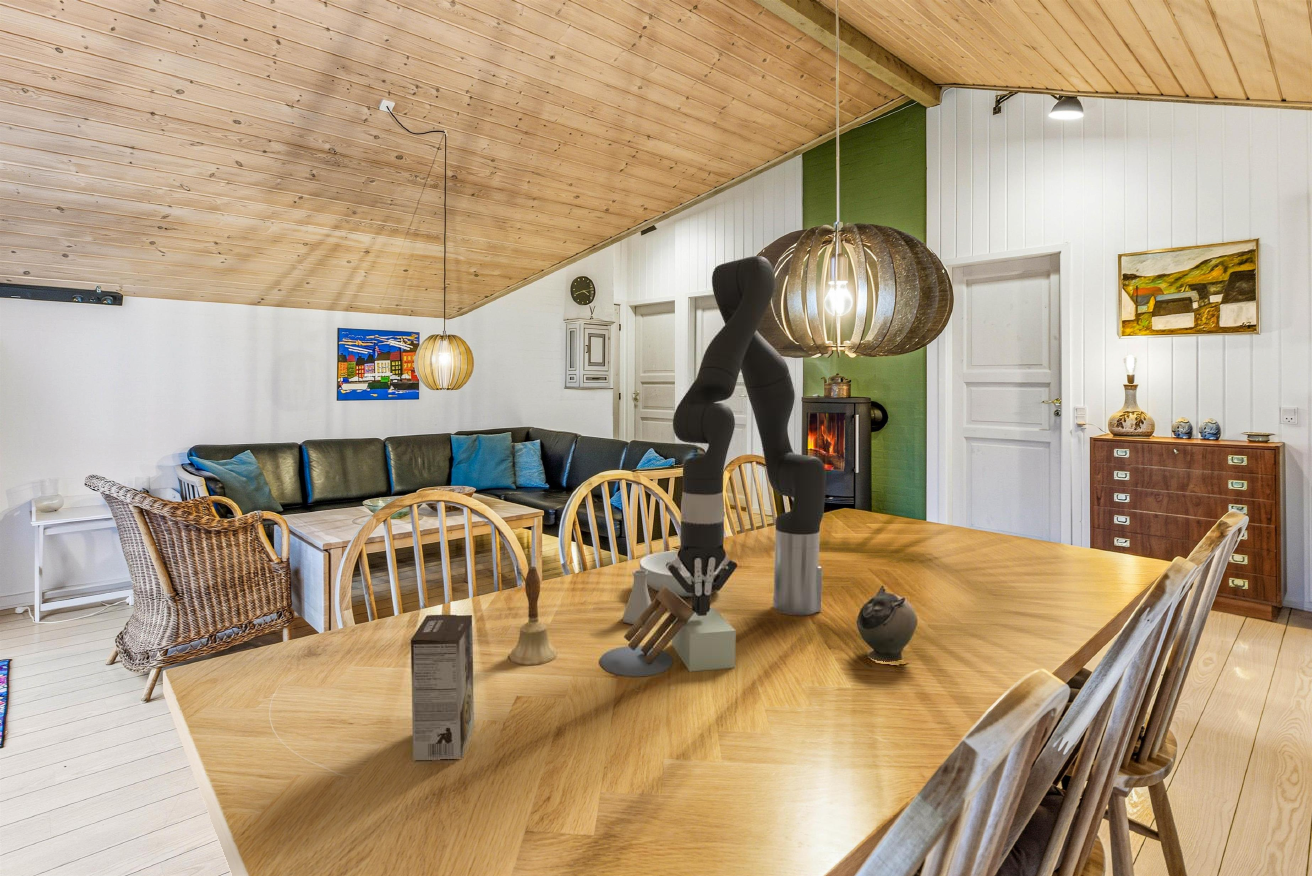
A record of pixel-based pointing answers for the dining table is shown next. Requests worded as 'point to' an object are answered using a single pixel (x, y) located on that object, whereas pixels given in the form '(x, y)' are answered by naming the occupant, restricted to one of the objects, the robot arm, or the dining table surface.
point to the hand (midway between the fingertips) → (700, 614)
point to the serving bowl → (665, 572)
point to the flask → (637, 598)
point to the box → (706, 642)
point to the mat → (634, 662)
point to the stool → (677, 611)
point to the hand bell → (533, 630)
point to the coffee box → (442, 687)
